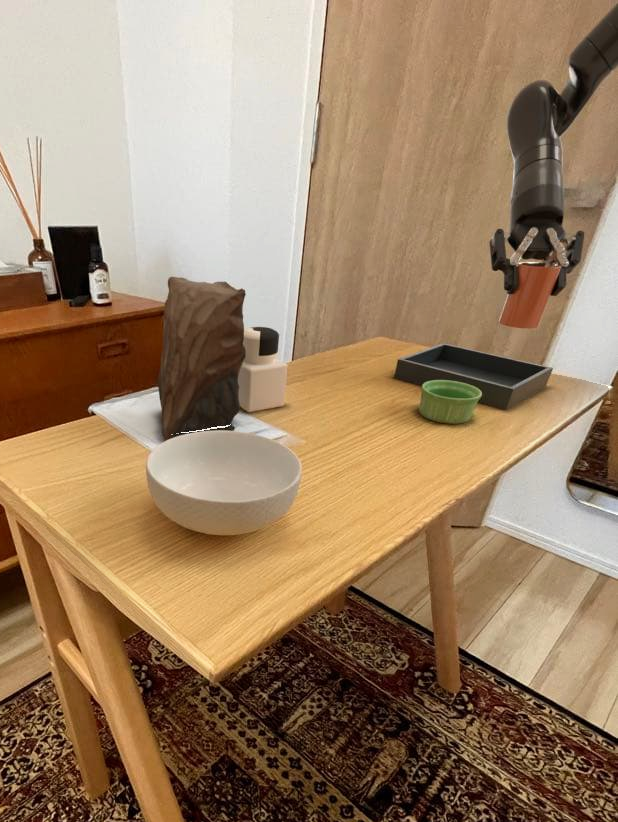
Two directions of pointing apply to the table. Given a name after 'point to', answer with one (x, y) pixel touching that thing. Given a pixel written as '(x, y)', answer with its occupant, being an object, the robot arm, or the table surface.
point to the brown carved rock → (200, 356)
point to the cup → (530, 295)
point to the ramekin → (448, 401)
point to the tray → (476, 373)
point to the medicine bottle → (261, 371)
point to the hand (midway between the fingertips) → (534, 291)
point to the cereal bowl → (223, 481)
